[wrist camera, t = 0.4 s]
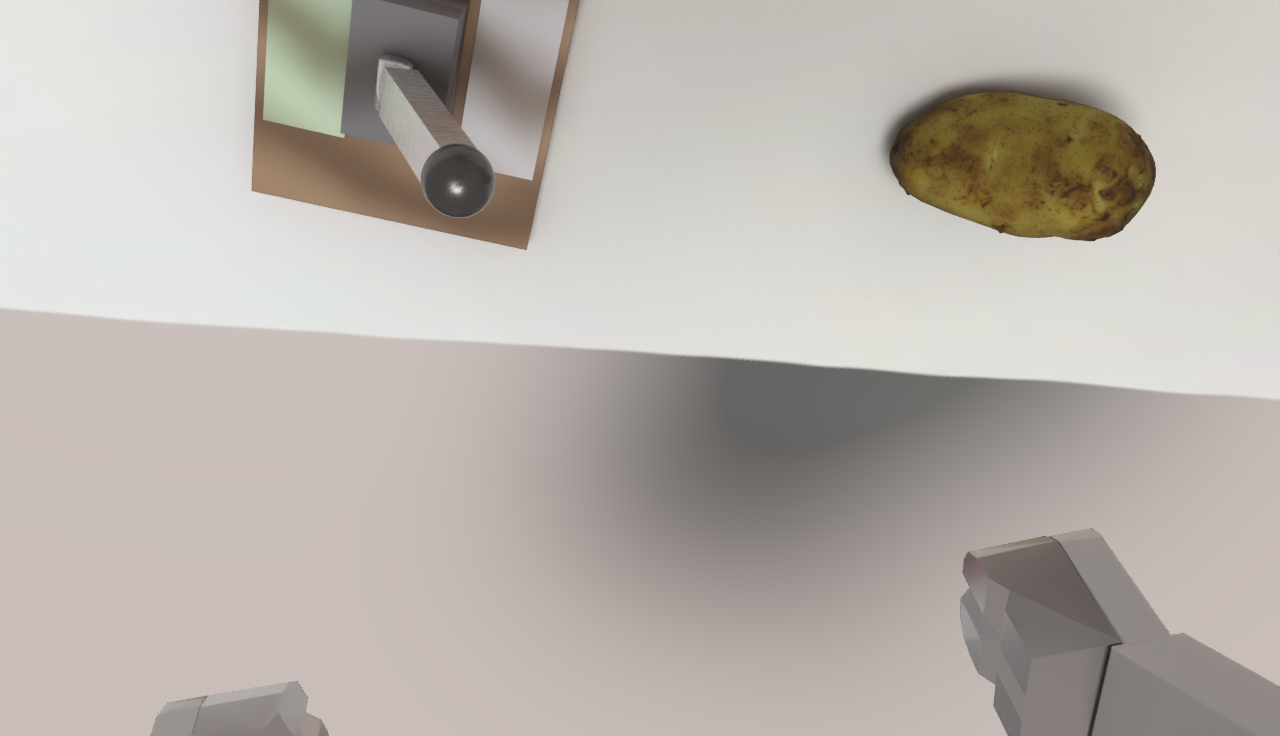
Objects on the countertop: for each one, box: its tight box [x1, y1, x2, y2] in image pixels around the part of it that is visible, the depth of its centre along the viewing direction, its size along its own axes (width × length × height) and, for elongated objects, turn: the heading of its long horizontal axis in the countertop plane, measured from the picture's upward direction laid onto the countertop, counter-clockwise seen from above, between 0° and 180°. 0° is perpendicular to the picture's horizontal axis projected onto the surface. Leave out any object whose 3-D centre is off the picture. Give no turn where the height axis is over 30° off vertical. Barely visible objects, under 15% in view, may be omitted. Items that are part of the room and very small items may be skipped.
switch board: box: [252, 0, 579, 250], centre depth 51 cm, size 20×16×6 cm
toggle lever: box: [374, 55, 495, 218], centre depth 43 cm, size 3×3×13 cm
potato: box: [890, 91, 1156, 241], centre depth 54 cm, size 8×13×8 cm, turn 68°
